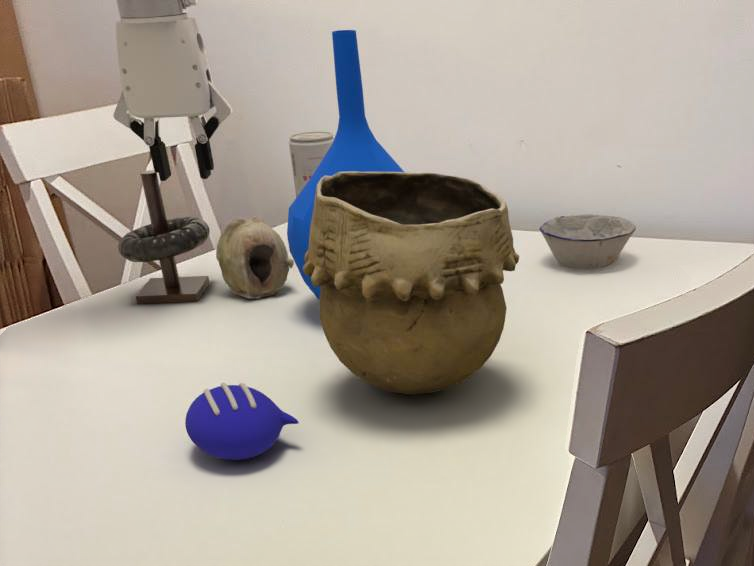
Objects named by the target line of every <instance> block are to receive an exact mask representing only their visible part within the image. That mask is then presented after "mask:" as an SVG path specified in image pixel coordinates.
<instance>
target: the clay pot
mask: <svg viewBox="0 0 754 566" xmlns="http://www.w3.org/2000/svg"><path fill="white" fill-rule="evenodd" d="M304 260H305V262H306V264H305V265H304V266H303V271H304V273H305V275H308V276H310V277H311V281H312V284H313V285H314V286H315V287H318V286H321V290H320V301H319V309H318V312H319V313H318V314H319V321H320V324H321V327H322V331H323V333H324V336H325V338H326V341H327V343H328V345H329V347H330V349H331V350H332V352H333V354H334V355H335V356H336V357H337V359H338V360H339V362H340V363H341V364H342V365H343V366H344V367H345V368H347V369H348V371H350V372H351V373H352V374H353V375H354V376H356V377H357V378H358V379H360V380H362V381H363V382H365V383H366V384H369V385H371V386H373V387H375V388H377V389H380V390H383V391H386V392H390V393H395V394H405V395H408V394H409V395H418V394H419V395H421V394H428V393H435V392H440V391H443V390H447V389H450V388H452V387H455V386H457V385H458V384H460V383H462V382H464V381H466V380H468V379H469V378H470V377H471V376H473V375H474V374H476V373H477V372H478V371H479V370H481V368H482V367H483V366H484V365H485V364H486V363H487V361H488V360H489V359H490V358H491V357H492V355H493V353H494V351H495V350H496V348H497V346H498V344H499V343H500V340H501V337H502V334H503V331H504V327H505V322H506V316H507V303H506V299H505V295H504V289H503V287H502V285H503V283H504V281H505V277H504V275H505V274H504V272H514V271H515V270H516V266H517V264H519V260H520V255H519V254H518V253H517V252H516V249H515V247H514V236H513V231H512V228H511V224H510V217H509V209H508V204H507V201H506V200H505V199H504V198H503V197H502V196H500V195H499V194H498V193H497V192H494V191H492V190H491V189H489V188H487V187H486V186H484V185H483V184H482V183H480V182H478V181H476V180H474V179H471V178H466V177H462V176H459V175H451V174H441V173H435V172H406V171H404V172H356V171H348V172H338V173H336V174H334V175H333V176H327V175H325V176H324V177H322V178H321V179H320V181H319V182H318V184H317V187H316V194H315V200H314V209H313V216H312V221H311V227H310V235H309V250H308V251H307V252H306V254H305V259H304Z"/></svg>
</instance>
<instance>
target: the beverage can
mask: <svg viewBox="0 0 754 566" xmlns="http://www.w3.org/2000/svg"><path fill="white" fill-rule="evenodd" d="M334 138H335V137H334V133H333V132H330V131H323V130H322V131H321V130H320V131H319V130H318V131H313V130H312V131H303V132H297V133H293V134H290V135H289V142H288V144H289V145H288V146H289V154H290V160H291V168H292V176H293V183H294V191H295V198H296V197H297V196H298V195H299V193H300V192H301V191H302V189H303V188H304V186H305V185H306V184H307V182H308V181H309V180H310V178H311V177H312V175H313V174H314V172H315V171H316V169H317V167H318V166H319V164H320V163H321V161H322V159H323V158H324V156H325V155H326V153H327V151H328V150H329V148H330V147H331V145H332V143H333V141H334Z"/></svg>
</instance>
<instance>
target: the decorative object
mask: <svg viewBox="0 0 754 566" xmlns="http://www.w3.org/2000/svg"><path fill="white" fill-rule="evenodd" d="M185 415H186V416H185V421H184V424H185V429H186V433H187V435H188V437H189V439H190V441H192V443H193V444H194V445H195V446H196V447H197V448H199V449H200V450H201V451H202V452H204V453H206V454H207V455H209V456H211V457H215V458H218V459H222V460H227V461H228V460H229V461H241V460H247V459H251V458H252V459H253V458H254V457H257V456H259V455H262V454H263V453H265V452H266V451H268V450H269V449H270V448H272V446H274V444H275V443H276V442H277V440H278V438H279V436H280V435H281V432H282V430H283V428H284V426H287V425H298V424H299V420H298V419H297V418H296V417H295V416H293V415H291V414H289V413H287V412H286V411H283V410H282V409H281V408H280V407H279V406H278V405H277V404H276V403H275V402H274V401H273V400H272V399H271V398H270V397H269V396H267V395H266V394H264V393H263V392H261V390H260V391H259V390H257V389H255V388H254V387H250V386H247V384H246V383H244V382H242V381H241V382H239V384H227V383H225V382H220V386H217V387H212V388H211V389H209V388H204V390H203V392H202V393H201V394H199V395H198V396H197V397H196V398H195V399H194V400H193V401H191V404H190V405H189V407H188V409H187V412H186V414H185Z"/></svg>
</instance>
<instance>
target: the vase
mask: <svg viewBox="0 0 754 566" xmlns="http://www.w3.org/2000/svg"><path fill="white" fill-rule="evenodd" d="M331 36H332V37H331V38H332V50H333V62H334V74H335V75H334V76H335V86H336V87H335V89H336V98H337V107H338V117H339V118H338V123H337V130H336V133H335V135H334V137H333V138H334V141H333V143H332V145H331V147H330V148H329V150H328V151H327V153H326V155H325V156H324V158H323V159H322V161H321V163H320V164H319V166H318V167H317V169H316V171H315V172H314V174H313V175H312V177H311V178H310V180H309V181H308V182H307V184H306V185H305V186H304V188H303V189H302V191H301V192H300V193H299V195H298V196H297V197H296V196H295V199H294V200H293V201H292V203H291V204H290V206H289V207H288V212H287V227H286V228H287V229H286V236H287V241H288V248H289V253H290V255H291V257H292V260H293V261H294V264H295V265H296V268H297V270H298V272H299V274H300V276H301V278H302V281H303V282H304V284H305V285H306V286H307V288H309V289H310V291H311V293H313V295H314V296H315V297H316V298H317V300H318V301H319V302H320V290H321V286H318V287H315V286H314V285H313V284H312V281H311V277H310V276H308V275H305V273H304V271H303V266H304V265H305V264H306V262H305V260H304V259H305V254H306V252H307V251H308V250H309V235H310V227H311V221H312V216H313V209H314V200H315V194H316V187H317V184H318V182H319V181H320V179H321V178H322V177H324V176H325V175H327V176H333V175H334V174H336V173H338V172H348V171H356V172H405V170H403V168H402V167H401V166H400V165H399V164H398V163H397V161H396V160H395V159H394V158H393V157H392V155H390V153H388V151H387V150H386V149H385V148H384V147H383V146H382V145H381V143H380V142H378V140H377V139H376V137H375V136H374V133H373V132H372V130H371V128H370V126H369V123H368V120H367V117H366V110H365V100H364V99H365V98H364V89H363V79H362V72H361V62H360V56H359V55H360V54H359V46H358V37H357V30H355V29H339V30H333V31H331Z"/></svg>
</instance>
